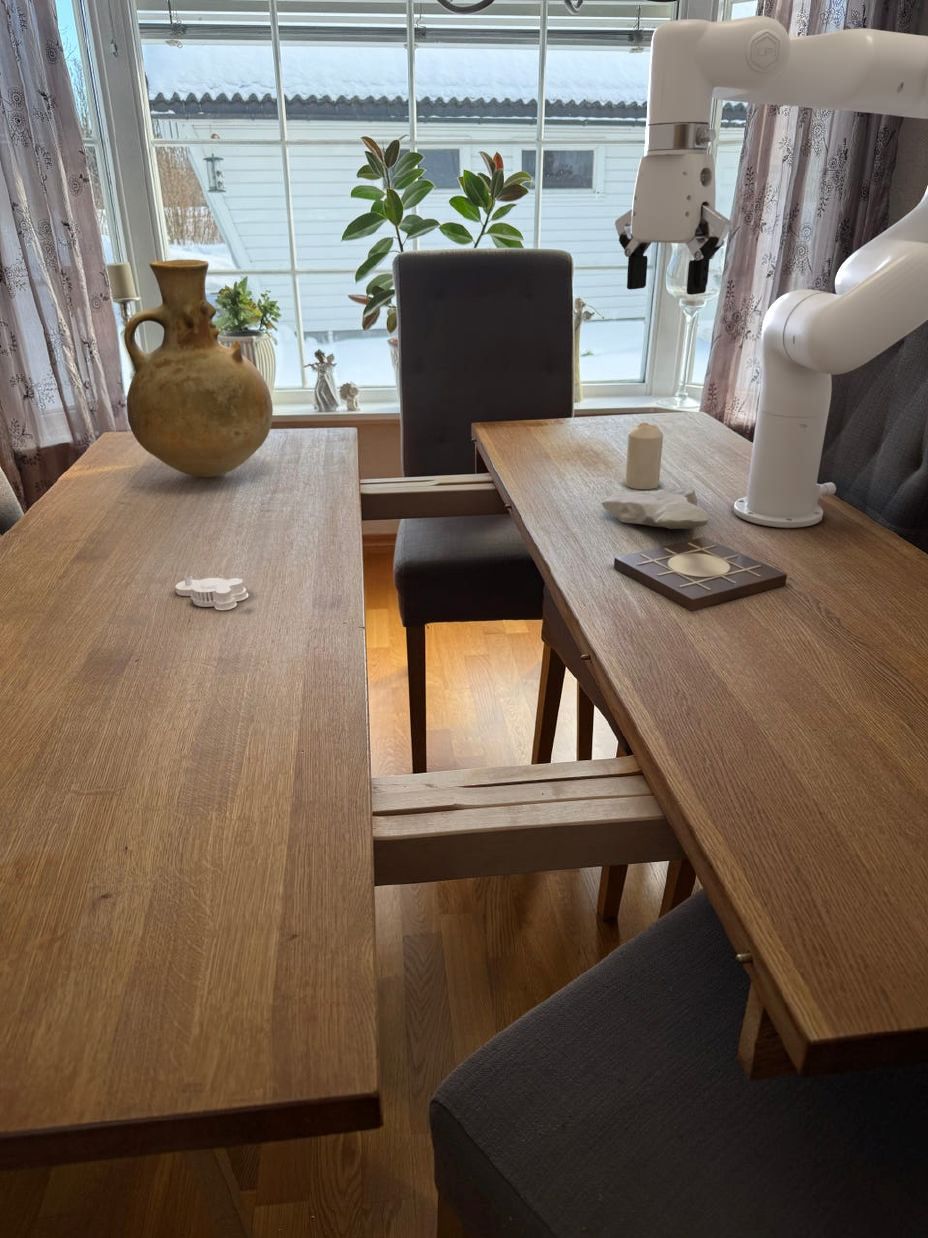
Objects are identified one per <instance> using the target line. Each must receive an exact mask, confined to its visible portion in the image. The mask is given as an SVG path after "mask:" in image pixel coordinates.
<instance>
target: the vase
mask: <svg viewBox="0 0 928 1238" xmlns="http://www.w3.org/2000/svg"><path fill="white" fill-rule="evenodd" d="M209 264H210V263H209V262H208V261H207V260H200V259H190V258H189V259H170V260H154V261H151V262H150V263H149V267H150V269H151V272H152V273H153V274H154V277H155V280H156V281H157V284H158V289H159V292H160V297H161V304H160V305H159V306H156V307H153V308H148V309H145V310H141V311H137V312H135V313H134V314H133V315H131V317H129V319H128V321H127V323H126V324H125V328H124V335H123V337H124V338H123V339H124V345H125V348H126V350H127V352H128V355H129V358H130V360H131V362H132V365H133V367H134V370H135V373H134V375H133V377H132V379H131V381H130V384H129V388H128V391H127V395H126V413H127V414H126V415H127V421H128V426H129V428H130V430H131V432H132V435H133V436H134V438H135V439H136V442H138V444H139V445H140V446H141V447H142V449H144V450H145V451H146V452H148V454H150V455H152V456H153V457H155V458H156V459H158V460H159V461H161V462H162V463H163V464H166V465H167V466H169V467H171V468H172V469H174V470H176V471H177V472H180V473H182V474H185V475H188V476H193V477H198V478H214V477H218V476H219V477H220V476H221V475H226V474H228V473H230V472H232V471H233V470H235V469H237V468H238V467H240V466H241V465H243V464H244V463H245V462H246V461H248V460H249V458H251V457H252V456H253V455H254V454H255V453H256V452H257V451H258V450H259V449H260V448H261V447H262V446H263V444H264V443H265V441H266V440H267V438H268V436H269V433H270V431H271V426H272V423H273V413H274V408H273V401H272V397H271V391H270V389H269V386H268V384H267V383H266V381H265V378H263V375H262V374H261V372H260V370H259V369H258V368H257V367H256V365H255V364H254V363H252V361H250V360H249V359H248V358H247V357H246V356H245V355H244V353H243V349H242V345H241V342H240V341H239V340H238V339H236V340H235V341H234V342H233V343H232V345H230V346H225V345H223V344H222V343H220V342H219V339H218V338H219V335H220V329H219V328H218V327H217V324H216V323H215V322H213V319H214V317H215V316H216V314H217V309H216V307H215V306H214V305H213V304H212V303H210V302H209V300H208V298H207V293H206V278H207V273H208V271H209V266H210V265H209ZM144 322H154V323H156V324H159V325H160V326H161V327H162V329H163V339H162V342H161V344H160V345H159V346H157V348H155V349H154V350H153V351H152V352H146V351H144V350H143V349H142V348H141V347H140V346H139V345H138V344H137V342H136V332H137V329H138V327H139V325H141V324H142V323H144Z"/></svg>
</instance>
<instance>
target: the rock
mask: <svg viewBox="0 0 928 1238" xmlns="http://www.w3.org/2000/svg"><path fill="white" fill-rule="evenodd" d="M601 505H602V507H603V508H604V509H605V511H607V512H608V513H610V514H611V515H612V516H614V517H615V518H617V519H618V520H619V521H620V522H622V523H626V524H634V525H642V526H643V525H644V526H648V527H655V528H666V529H669V530H676V529H681V530H686V529H687V530H688V529H689V530H690V529H694V528H700V527H704V526H706V525H707V524H708V523H709V517H708V515H707V514H706V512H705V510H704V509H703V508H702V507H700V506H698V498H697V496H696V492H695V489H694V487H692V486H681V487H679V486H676V487H669V488H663V489H661V490H660V489H659V490H649V491H627V490H617V491H615V492H614V493H612V494H611V495H610V496H608V498H606V499H605V500H602V502H601Z"/></svg>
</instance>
